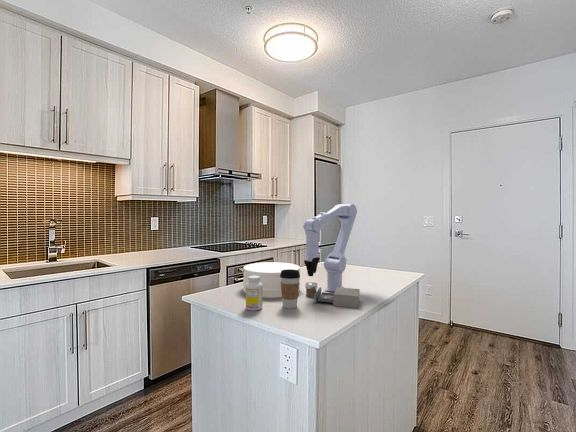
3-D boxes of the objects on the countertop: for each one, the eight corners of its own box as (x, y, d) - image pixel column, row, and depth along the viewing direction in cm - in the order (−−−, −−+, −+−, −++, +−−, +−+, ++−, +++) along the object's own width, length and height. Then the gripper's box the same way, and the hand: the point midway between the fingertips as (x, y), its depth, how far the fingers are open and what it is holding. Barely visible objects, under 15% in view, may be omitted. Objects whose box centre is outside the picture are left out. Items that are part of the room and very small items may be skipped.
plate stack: (275, 301, 136) (275, 275, 135) (231, 290, 153) (231, 267, 152) (310, 288, 158) (310, 266, 158) (268, 280, 175) (268, 260, 175)
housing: (336, 297, 142) (337, 287, 142) (359, 299, 139) (359, 289, 139) (333, 305, 130) (333, 294, 130) (357, 307, 127) (357, 296, 127)
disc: (306, 285, 149) (307, 281, 149) (318, 286, 147) (318, 282, 147) (304, 288, 144) (304, 284, 144) (316, 289, 142) (316, 285, 142)
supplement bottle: (254, 304, 130) (254, 274, 130) (265, 308, 126) (265, 276, 126) (242, 308, 125) (242, 276, 125) (253, 312, 121) (254, 279, 121)
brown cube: (308, 293, 148) (308, 286, 148) (316, 294, 147) (316, 287, 147) (306, 295, 144) (306, 288, 144) (314, 296, 143) (314, 289, 143)
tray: (318, 296, 144) (318, 287, 144) (341, 298, 141) (341, 289, 141) (313, 303, 133) (313, 293, 133) (337, 305, 130) (337, 296, 130)
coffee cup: (282, 310, 124) (282, 272, 123) (277, 303, 132) (277, 268, 131) (302, 308, 126) (303, 271, 125) (296, 302, 134) (296, 267, 134)
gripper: (306, 243, 152) (306, 270, 153) (300, 246, 138) (300, 277, 139) (321, 243, 151) (320, 271, 151) (316, 247, 137) (316, 278, 137)
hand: (312, 274), depth 145 cm, fingers open, 7 cm apart
